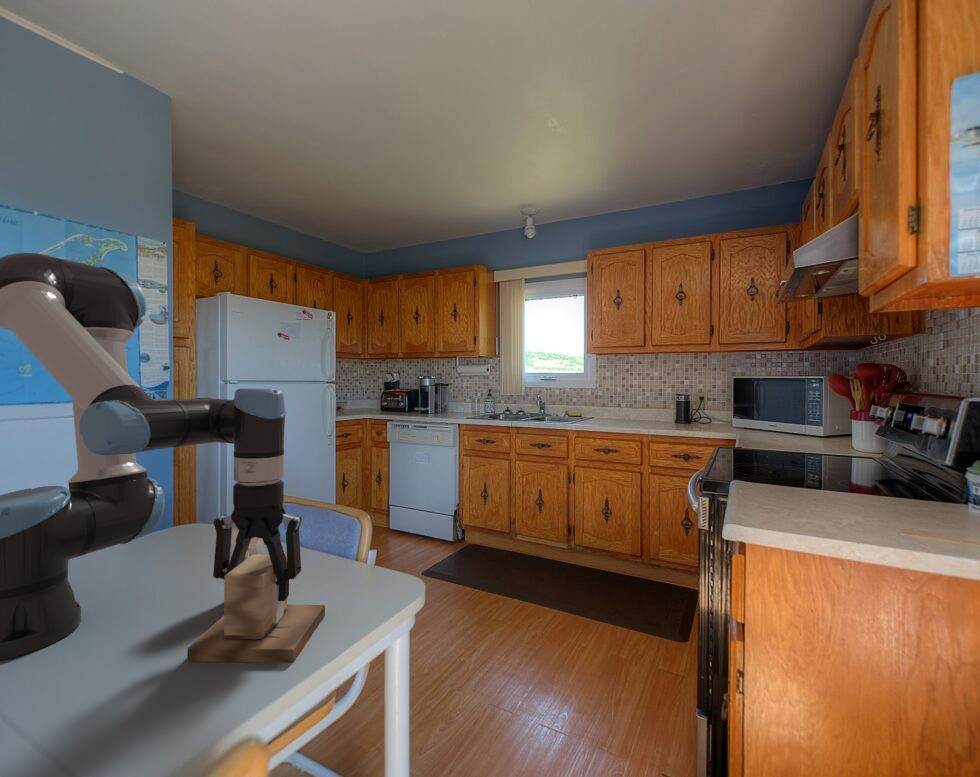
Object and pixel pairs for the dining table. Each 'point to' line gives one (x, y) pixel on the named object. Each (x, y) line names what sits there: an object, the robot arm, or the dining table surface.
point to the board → (274, 647)
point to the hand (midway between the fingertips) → (257, 618)
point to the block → (249, 598)
